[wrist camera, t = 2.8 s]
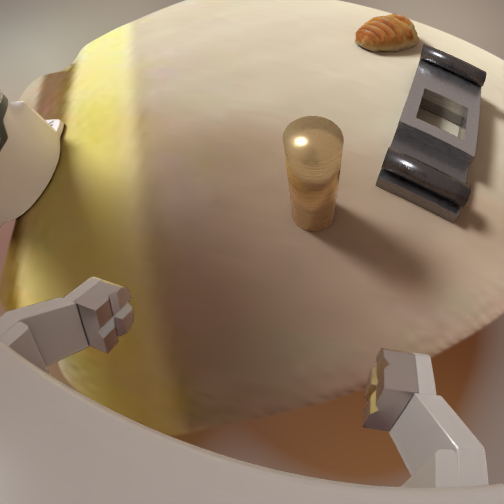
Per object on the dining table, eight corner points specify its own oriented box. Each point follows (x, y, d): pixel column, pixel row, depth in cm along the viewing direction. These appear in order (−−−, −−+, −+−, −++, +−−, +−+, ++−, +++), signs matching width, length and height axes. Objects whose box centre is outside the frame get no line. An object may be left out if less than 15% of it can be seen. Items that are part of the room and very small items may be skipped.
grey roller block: (452, 222, 25) (474, 196, 20) (375, 185, 27) (385, 152, 23) (474, 95, 29) (486, 67, 24) (418, 69, 32) (425, 39, 27)
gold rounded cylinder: (285, 220, 27) (272, 149, 18) (303, 187, 28) (298, 109, 19) (323, 238, 26) (329, 171, 17) (340, 203, 27) (351, 127, 18)
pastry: (378, 62, 33) (380, 39, 29) (342, 39, 35) (342, 17, 32) (421, 46, 33) (425, 26, 30) (387, 25, 36) (388, 5, 32)
